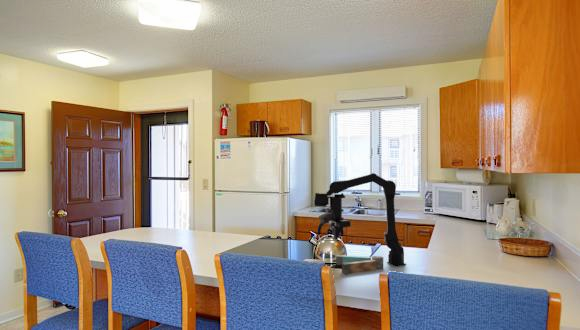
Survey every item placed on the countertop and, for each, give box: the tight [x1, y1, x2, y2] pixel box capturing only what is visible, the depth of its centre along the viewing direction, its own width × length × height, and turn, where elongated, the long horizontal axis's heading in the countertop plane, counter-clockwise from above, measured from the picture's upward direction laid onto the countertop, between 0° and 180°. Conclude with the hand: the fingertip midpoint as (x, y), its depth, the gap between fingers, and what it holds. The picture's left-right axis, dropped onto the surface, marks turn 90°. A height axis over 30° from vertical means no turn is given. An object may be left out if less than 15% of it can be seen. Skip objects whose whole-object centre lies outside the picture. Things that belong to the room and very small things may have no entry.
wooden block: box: [341, 255, 384, 276], centre depth 169 cm, size 22×6×5 cm, turn 112°
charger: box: [303, 258, 325, 264], centre depth 163 cm, size 5×9×15 cm
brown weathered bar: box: [335, 254, 372, 266], centre depth 177 cm, size 16×3×4 cm, turn 77°
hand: (336, 239), depth 184 cm, fingers closed
